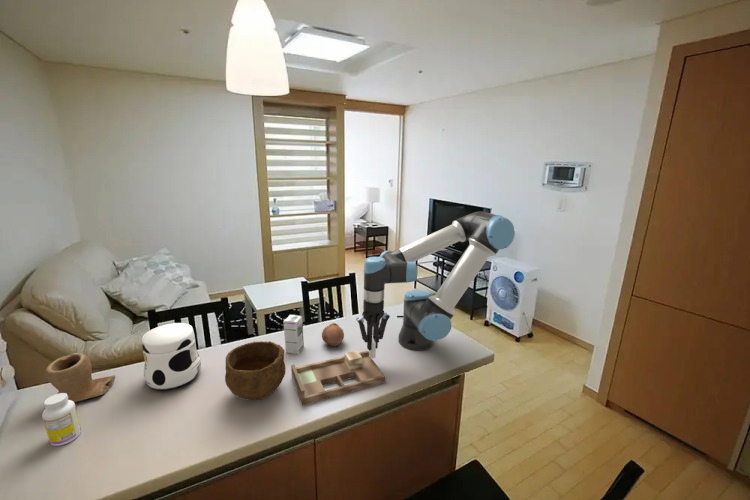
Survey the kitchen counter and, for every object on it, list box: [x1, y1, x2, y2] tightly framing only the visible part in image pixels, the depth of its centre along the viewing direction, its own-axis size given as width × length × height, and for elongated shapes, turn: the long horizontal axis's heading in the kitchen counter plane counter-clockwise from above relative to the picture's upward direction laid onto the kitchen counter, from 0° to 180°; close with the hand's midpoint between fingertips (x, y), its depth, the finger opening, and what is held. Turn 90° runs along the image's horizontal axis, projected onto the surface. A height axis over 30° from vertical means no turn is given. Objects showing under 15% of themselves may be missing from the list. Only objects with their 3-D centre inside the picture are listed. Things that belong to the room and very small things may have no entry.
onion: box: [321, 322, 345, 348], centre depth 144 cm, size 10×9×10 cm
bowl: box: [224, 341, 286, 401], centre depth 112 cm, size 19×19×15 cm
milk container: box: [141, 322, 202, 391], centre depth 118 cm, size 17×17×18 cm
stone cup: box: [44, 352, 116, 403], centre depth 109 cm, size 15×12×15 cm
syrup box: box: [283, 314, 305, 355], centre depth 138 cm, size 6×6×14 cm
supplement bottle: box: [41, 393, 82, 447], centre depth 93 cm, size 7×7×13 cm
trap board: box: [290, 350, 387, 407], centre depth 121 cm, size 30×16×6 cm, turn 115°
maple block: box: [344, 350, 362, 370], centre depth 126 cm, size 5×5×4 cm
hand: (372, 356), depth 129 cm, fingers closed
